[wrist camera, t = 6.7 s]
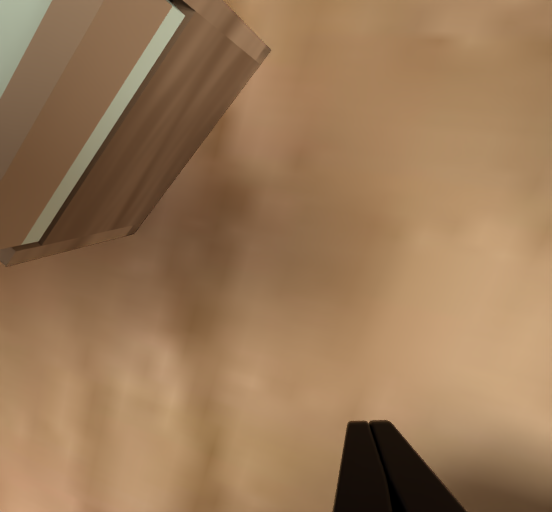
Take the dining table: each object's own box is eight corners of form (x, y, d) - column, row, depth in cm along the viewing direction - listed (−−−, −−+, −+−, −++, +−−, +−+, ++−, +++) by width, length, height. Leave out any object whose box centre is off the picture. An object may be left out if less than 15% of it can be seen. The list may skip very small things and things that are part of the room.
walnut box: (271, 50, 19) (193, -30, 12) (133, 233, 23) (6, 266, 15) (119, -90, 20) (-52, -256, 12) (9, 113, 24) (-175, 86, 16)
